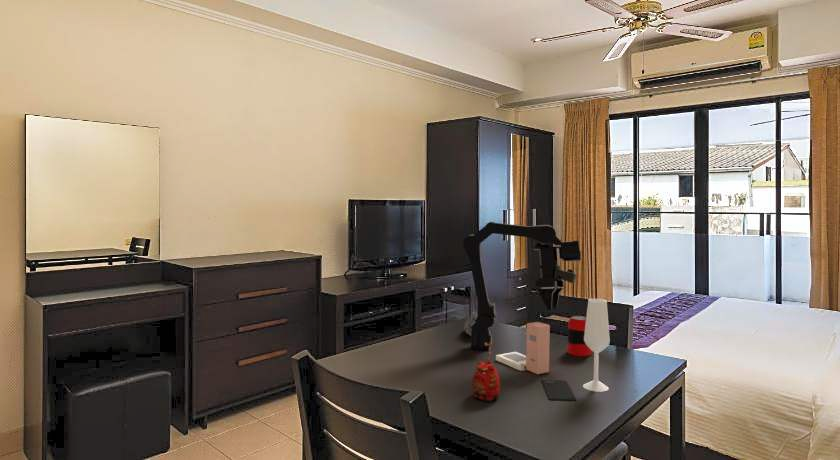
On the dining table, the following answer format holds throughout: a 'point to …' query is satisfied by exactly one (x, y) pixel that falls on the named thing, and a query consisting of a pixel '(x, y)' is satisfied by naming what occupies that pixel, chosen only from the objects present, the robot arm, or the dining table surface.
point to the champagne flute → (596, 337)
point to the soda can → (577, 337)
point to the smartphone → (558, 390)
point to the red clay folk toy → (486, 380)
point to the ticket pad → (513, 360)
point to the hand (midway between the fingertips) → (552, 309)
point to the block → (537, 347)
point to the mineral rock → (470, 322)
